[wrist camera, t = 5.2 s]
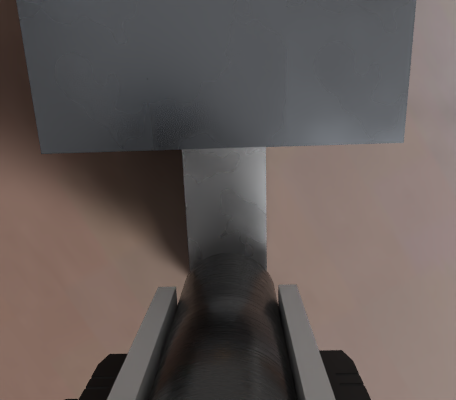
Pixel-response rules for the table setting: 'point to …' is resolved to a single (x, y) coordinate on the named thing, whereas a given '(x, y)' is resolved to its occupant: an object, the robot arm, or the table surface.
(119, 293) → the table surface
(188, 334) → the shaft
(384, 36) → the block
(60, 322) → the table surface
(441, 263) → the table surface
